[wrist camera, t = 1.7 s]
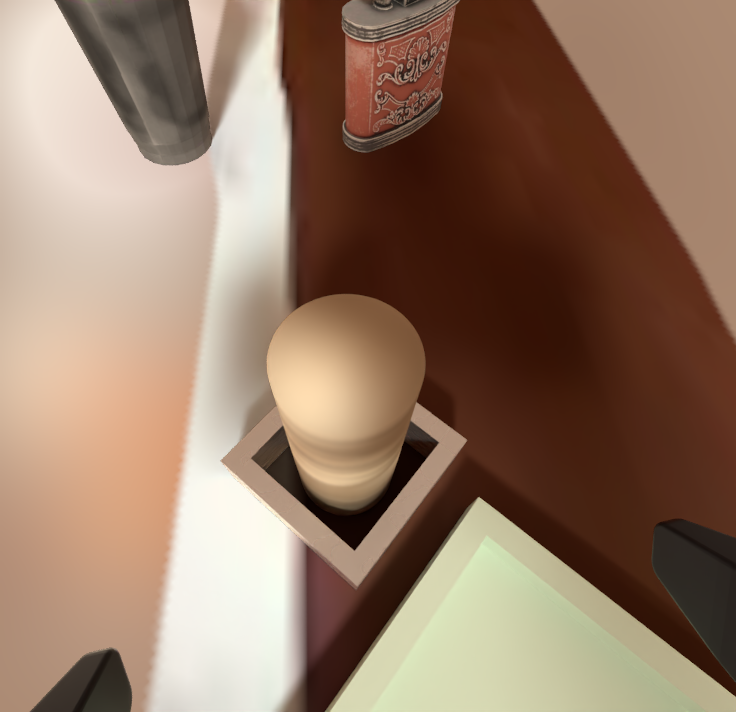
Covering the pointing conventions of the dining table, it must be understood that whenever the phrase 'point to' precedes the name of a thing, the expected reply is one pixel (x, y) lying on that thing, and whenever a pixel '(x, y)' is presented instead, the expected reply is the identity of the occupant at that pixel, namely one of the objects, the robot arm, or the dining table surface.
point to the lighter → (393, 67)
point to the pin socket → (351, 565)
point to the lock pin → (346, 396)
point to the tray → (517, 639)
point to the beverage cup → (147, 71)
